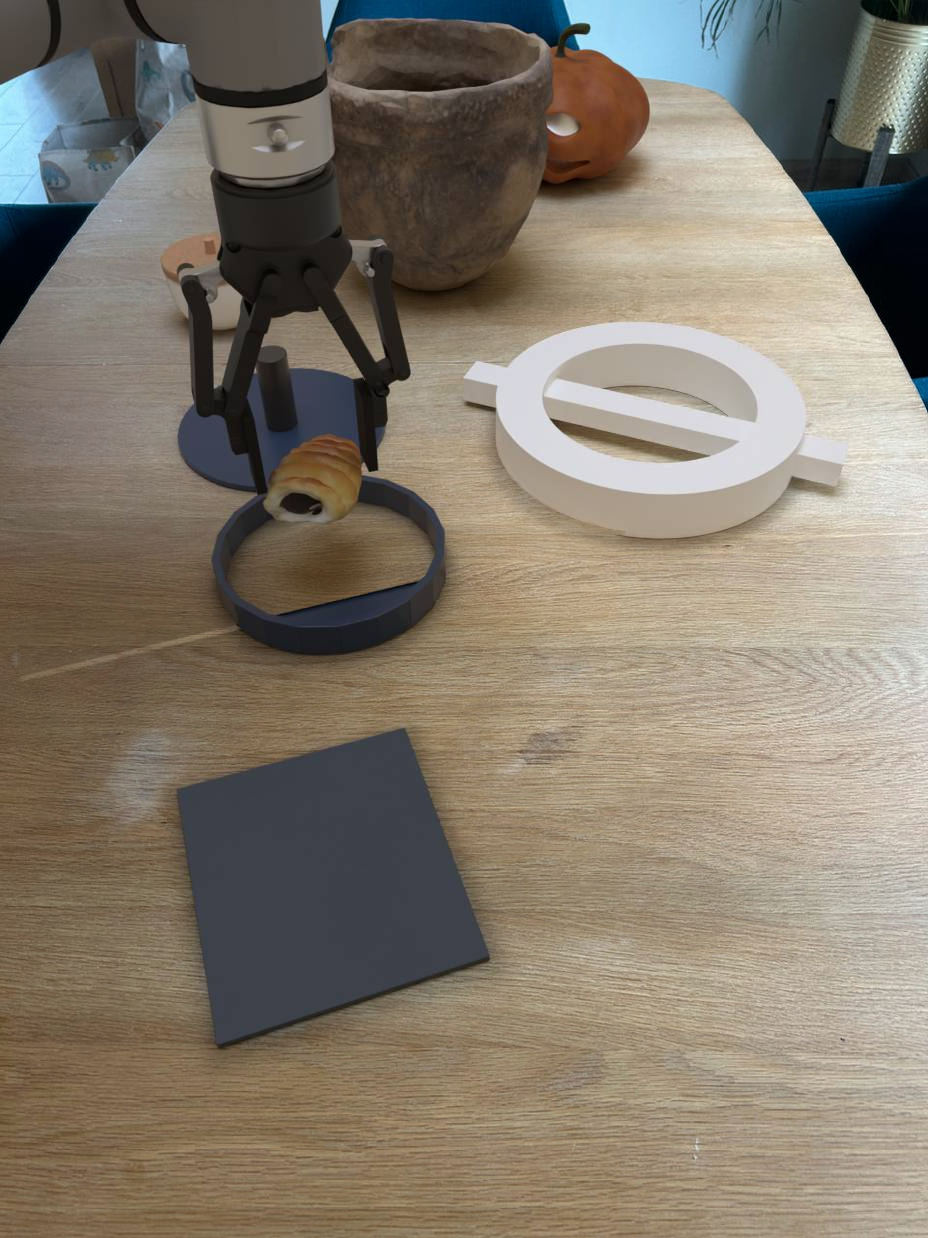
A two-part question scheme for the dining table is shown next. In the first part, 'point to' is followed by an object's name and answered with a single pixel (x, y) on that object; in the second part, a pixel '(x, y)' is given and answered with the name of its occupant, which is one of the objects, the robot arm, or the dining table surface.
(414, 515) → the dark blue ring
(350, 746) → the mat
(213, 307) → the trinket box
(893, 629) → the dining table surface
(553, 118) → the pumpkin
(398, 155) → the clay pot
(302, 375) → the lid
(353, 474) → the pastry
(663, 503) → the white circle with bar
